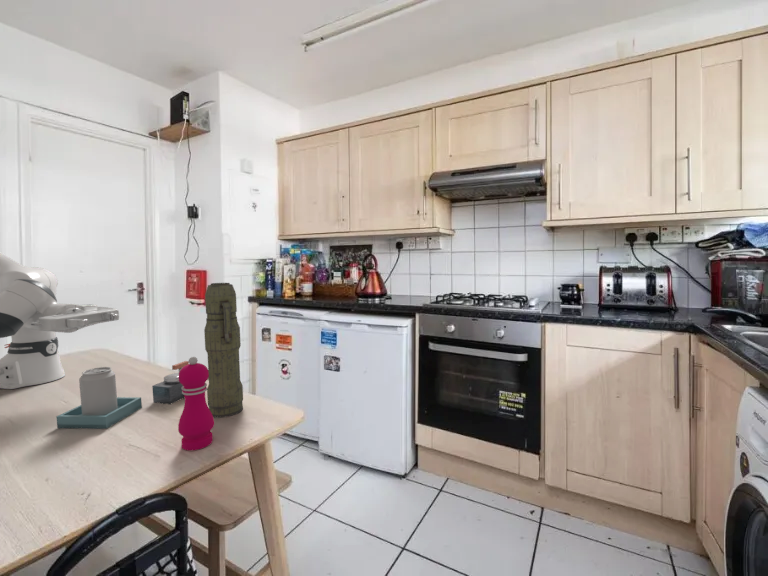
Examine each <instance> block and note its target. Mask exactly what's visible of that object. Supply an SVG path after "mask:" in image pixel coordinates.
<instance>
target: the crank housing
mask: <svg viewBox="0 0 768 576" xmlns="http://www.w3.org/2000/svg"><path fill="white" fill-rule="evenodd" d="M188 364H189V360H184V361H182V362H178V363H175V364H173V365H172V366H171V368H172V369H171V370H172V371H174V370H175V371H176V370H178V372H174V373H170V374H167V375H165V376H164V377H163V381H161V382H158V383H156V384H153V385H152V387H151V388H152V400H153V401H152V402H153V403H155V404H162V403H163V405H164V404H165V405H172V404H174V403H176V402H178V400H179V401H180V399H181V400H182V398H183V399H185V398H184V395H183V394H182V387H183V385H182V384H181V383H180V382H179V378H178V377H179V372H180V370H181V369H182V368H183V367H184V366H186V365H188ZM171 403H172V404H171Z"/></svg>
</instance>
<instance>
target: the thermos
mask: <svg viewBox="0 0 768 576" xmlns="http://www.w3.org/2000/svg"><path fill="white" fill-rule="evenodd" d="M236 293H237V292H236V290H235V288H234V285H233V284H230V282H213V283H212V282H211V283H210V284H208V285H207V287H206V291H205V293H204V294H205V295H204V300H205V314H206V323H205V327H204V329H203V330H204V331H203V332H204V348H205V349H204V350H205V351H206V354H207V369H208V372H209V377H208V384H207V390H206V392H207V393H206V395H207V406H208V408H209V410H210V411H211V413H212V415H213V418H227V417H232V416H235V415H237V414H239V413H241V412H242V411H243V409H244V407H243V406H244V405H243V401H244V391H243V389H244V387H243V384H242V382H241V371H240V370H241V366H240V365H241V364H240V348H241V327H240V324H239V322H238V316H237V312H238V309H237V294H236Z"/></svg>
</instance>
